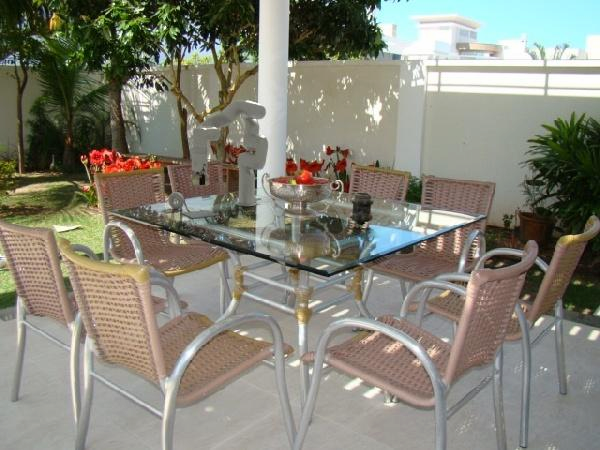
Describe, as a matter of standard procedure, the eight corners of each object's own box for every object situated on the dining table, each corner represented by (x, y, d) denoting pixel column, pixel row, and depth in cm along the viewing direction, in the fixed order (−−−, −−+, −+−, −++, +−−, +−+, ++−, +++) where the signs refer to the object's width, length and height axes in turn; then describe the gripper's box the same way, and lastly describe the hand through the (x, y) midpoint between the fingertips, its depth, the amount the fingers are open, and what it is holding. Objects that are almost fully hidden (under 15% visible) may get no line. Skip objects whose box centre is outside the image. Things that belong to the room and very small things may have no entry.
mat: (206, 210, 318) (206, 209, 318) (219, 215, 307) (219, 214, 307) (181, 213, 308) (181, 212, 308) (192, 219, 297) (192, 217, 297)
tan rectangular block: (190, 185, 303) (190, 174, 301) (205, 184, 308) (205, 173, 307) (194, 186, 299) (194, 175, 298) (209, 185, 305) (209, 174, 303)
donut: (185, 209, 319) (185, 192, 316) (182, 210, 316) (181, 193, 313) (170, 207, 322) (170, 190, 320) (167, 208, 319) (167, 191, 317)
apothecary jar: (374, 225, 299) (376, 192, 295) (369, 230, 288) (371, 196, 284) (352, 223, 303) (354, 190, 299) (346, 227, 292) (348, 194, 288)
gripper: (186, 149, 303) (186, 182, 308) (201, 152, 290) (201, 187, 295) (198, 148, 308) (198, 181, 312) (213, 152, 295) (213, 186, 299)
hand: (200, 183), depth 303 cm, fingers closed on tan rectangular block, 4 cm apart
